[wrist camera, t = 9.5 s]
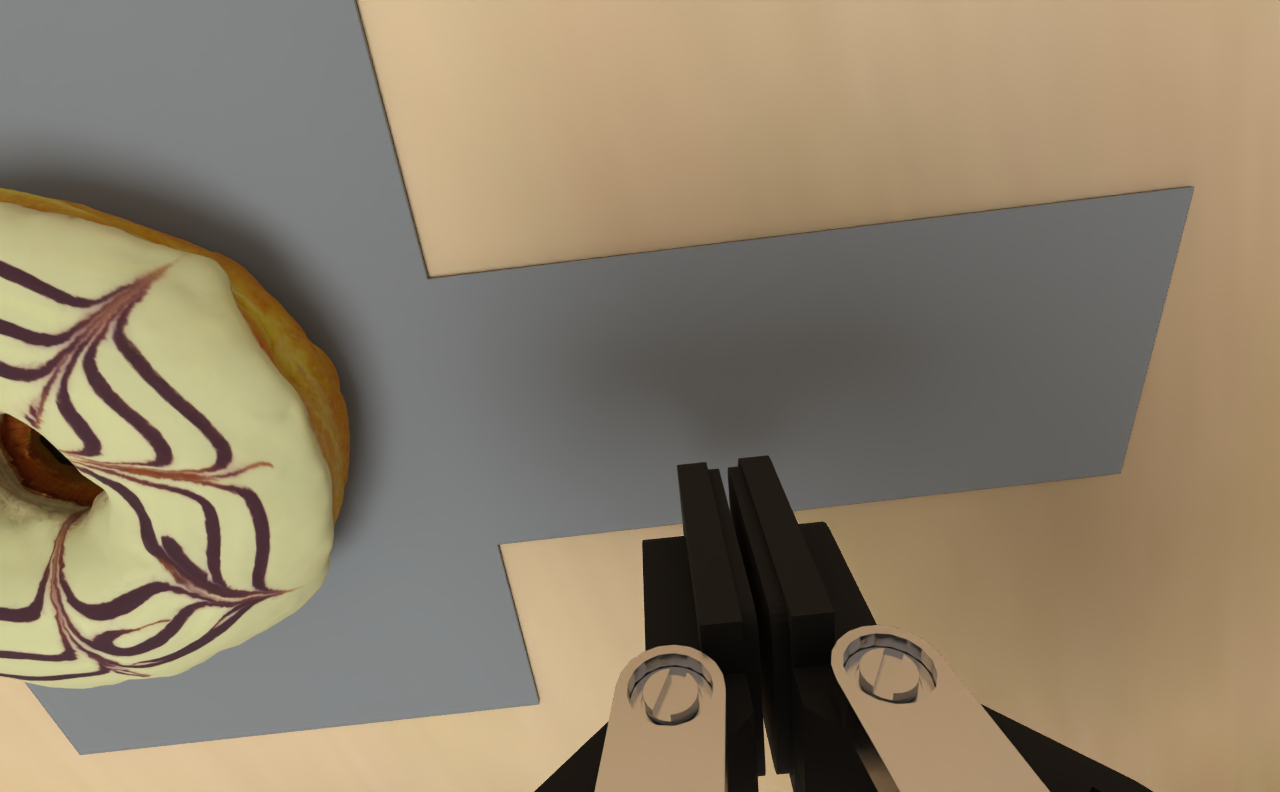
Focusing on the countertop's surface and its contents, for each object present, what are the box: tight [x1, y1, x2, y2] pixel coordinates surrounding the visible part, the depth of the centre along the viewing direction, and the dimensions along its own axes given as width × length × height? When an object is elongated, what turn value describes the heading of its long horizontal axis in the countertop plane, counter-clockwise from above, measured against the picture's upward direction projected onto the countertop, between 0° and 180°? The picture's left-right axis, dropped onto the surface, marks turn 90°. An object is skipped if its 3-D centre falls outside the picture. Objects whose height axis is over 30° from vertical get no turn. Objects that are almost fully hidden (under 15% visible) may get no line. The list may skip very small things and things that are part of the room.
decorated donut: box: [0, 188, 350, 689], centre depth 12 cm, size 10×11×4 cm
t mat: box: [0, 0, 1194, 755], centre depth 15 cm, size 30×19×1 cm, turn 96°
